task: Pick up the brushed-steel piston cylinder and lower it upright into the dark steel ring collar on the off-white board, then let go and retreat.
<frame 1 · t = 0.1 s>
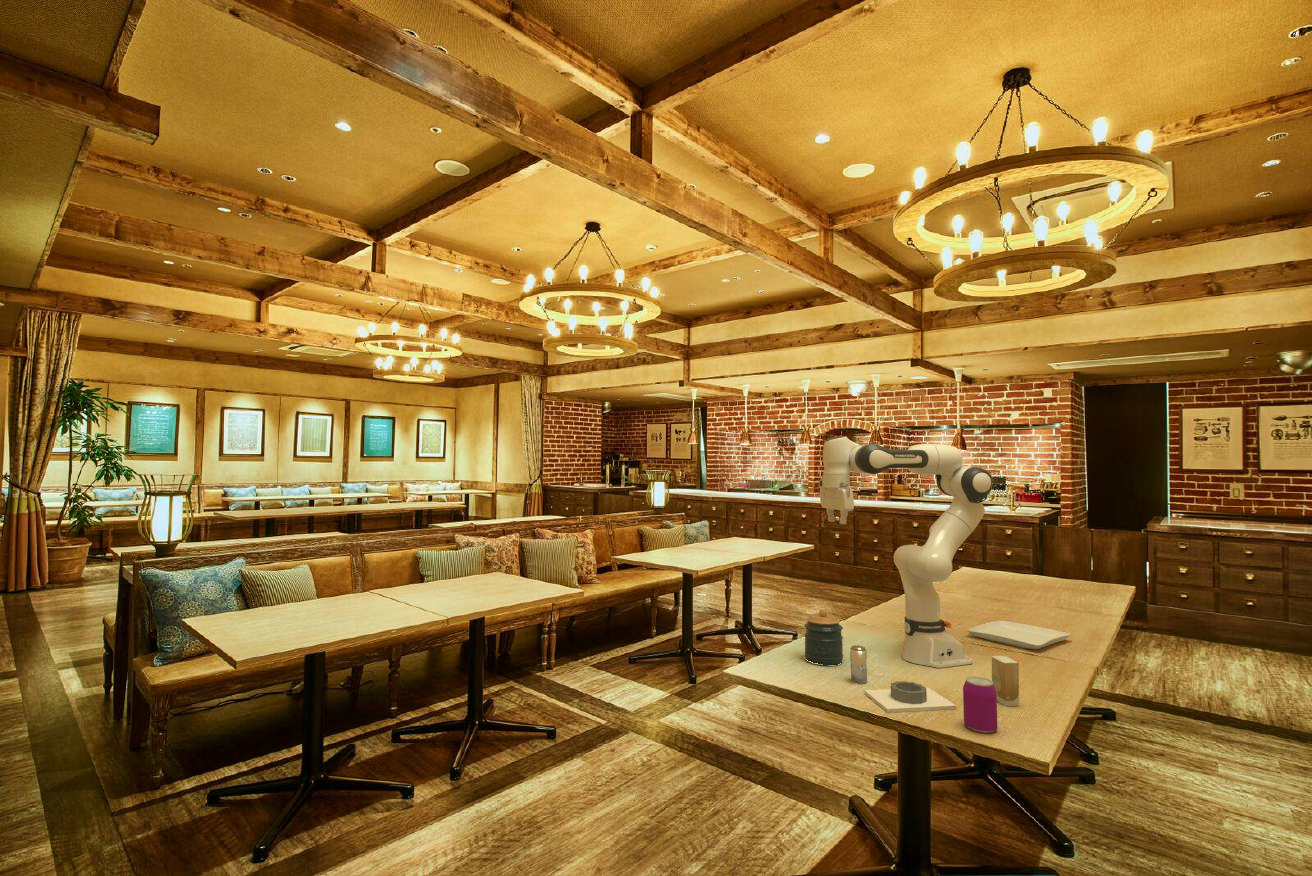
hand: (837, 522, 210), 48 cm above the table, fingers open, 8 cm apart
square plate: (1018, 641, 236), on the table
beverage can: (980, 728, 156), on the table
piston: (859, 681, 190), on the table
skincare box: (1005, 703, 173), on the table
canister: (823, 661, 211), on the table
ring block: (908, 701, 174), on the table
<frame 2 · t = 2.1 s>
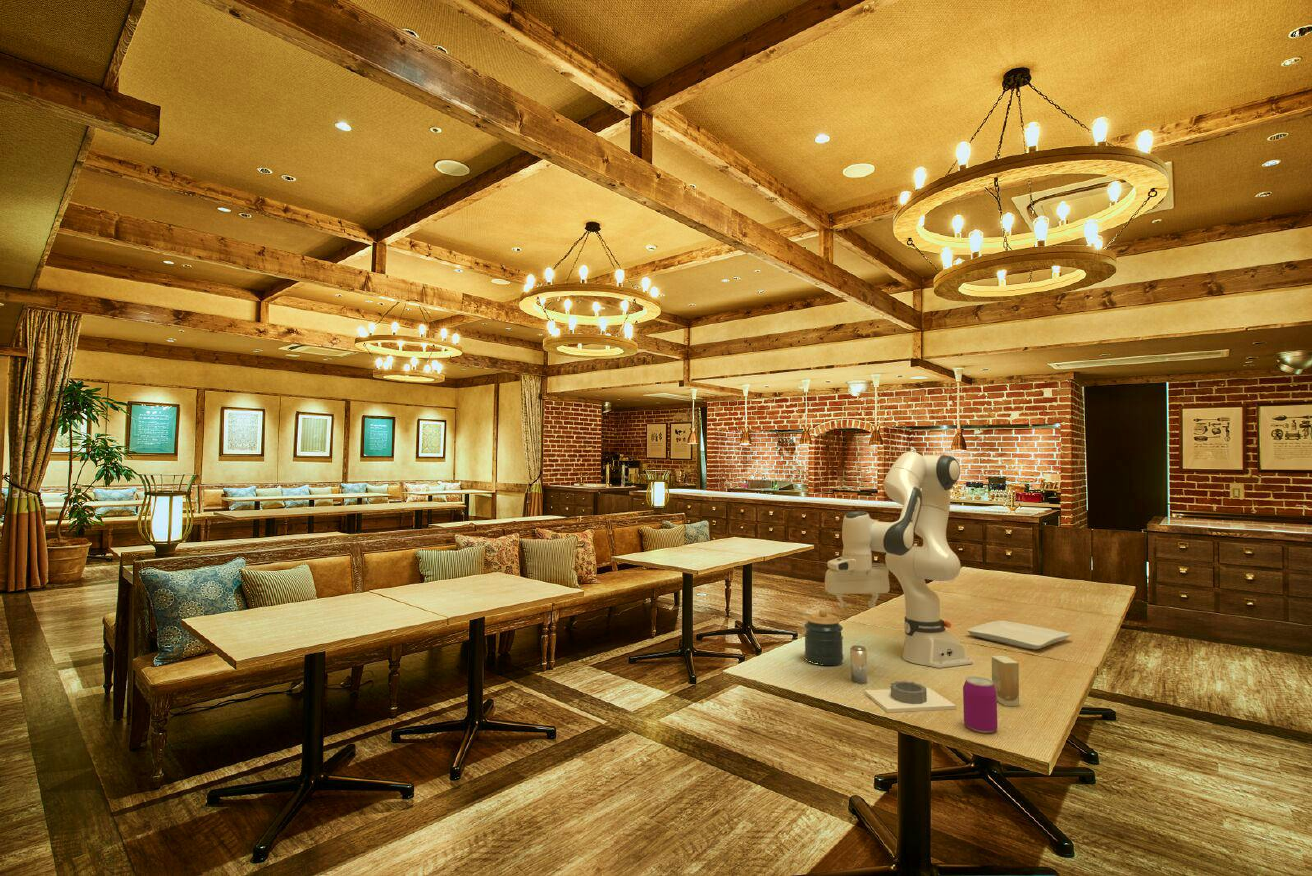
hand: (857, 607, 191), 23 cm above the table, fingers open, 8 cm apart
nothing on the table moved.
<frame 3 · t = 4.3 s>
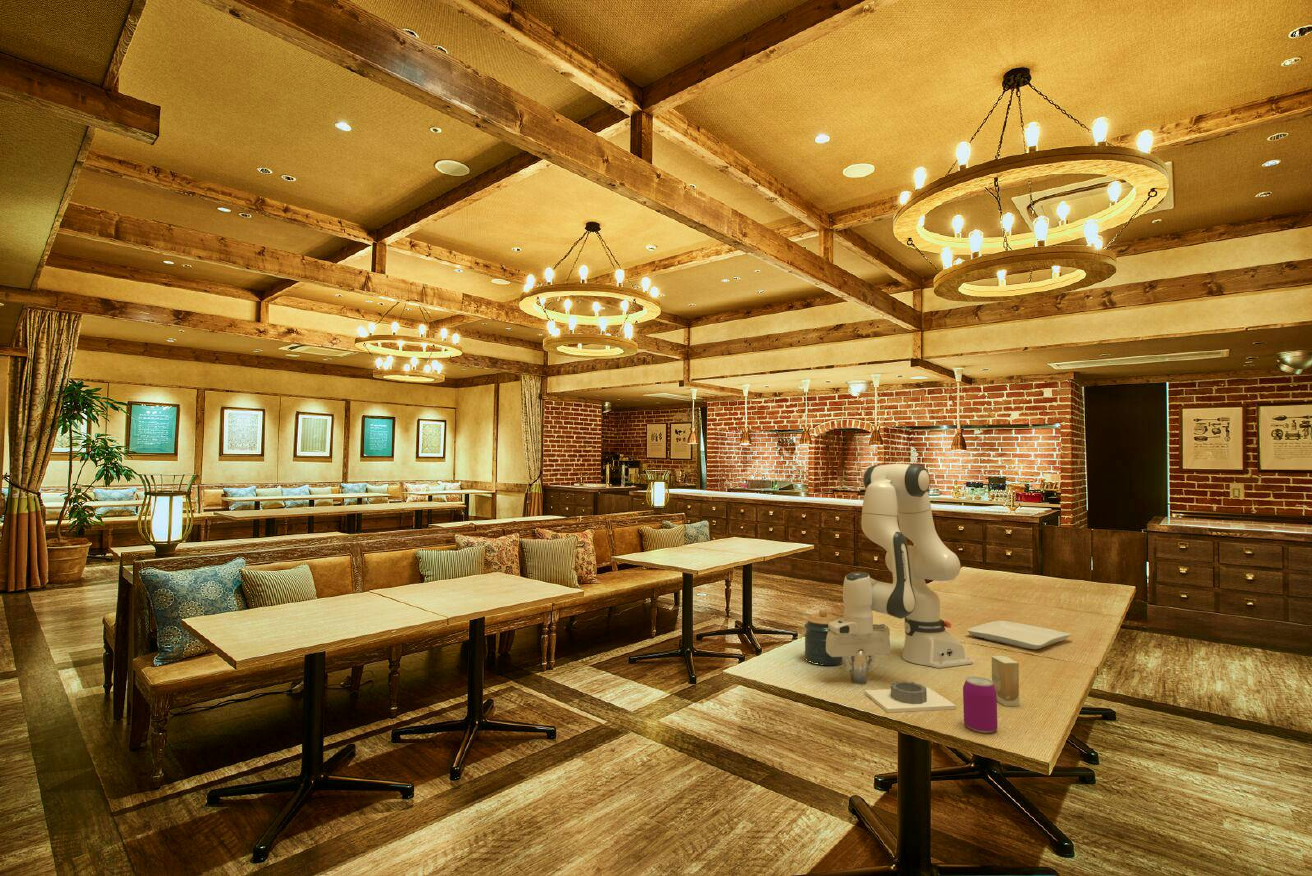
hand: (858, 669, 190), 4 cm above the table, fingers closed on piston, 5 cm apart
piston: (859, 681, 190), on the table, touching gripper
everything else where it was.
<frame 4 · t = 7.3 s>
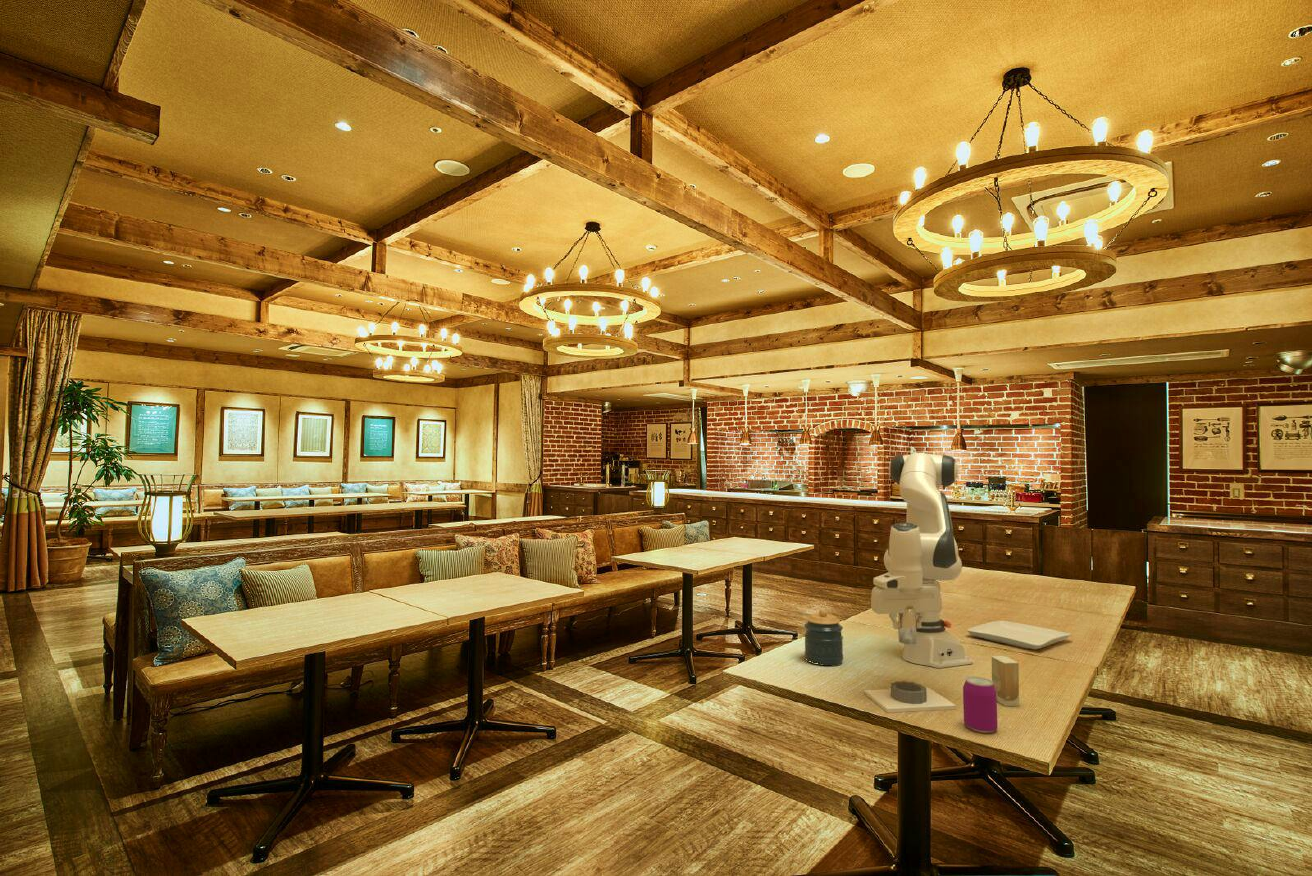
hand: (907, 628, 175), 21 cm above the table, fingers closed on piston, 5 cm apart
piston: (907, 642, 175), point 17 cm above the table, touching gripper
everything else where it was.
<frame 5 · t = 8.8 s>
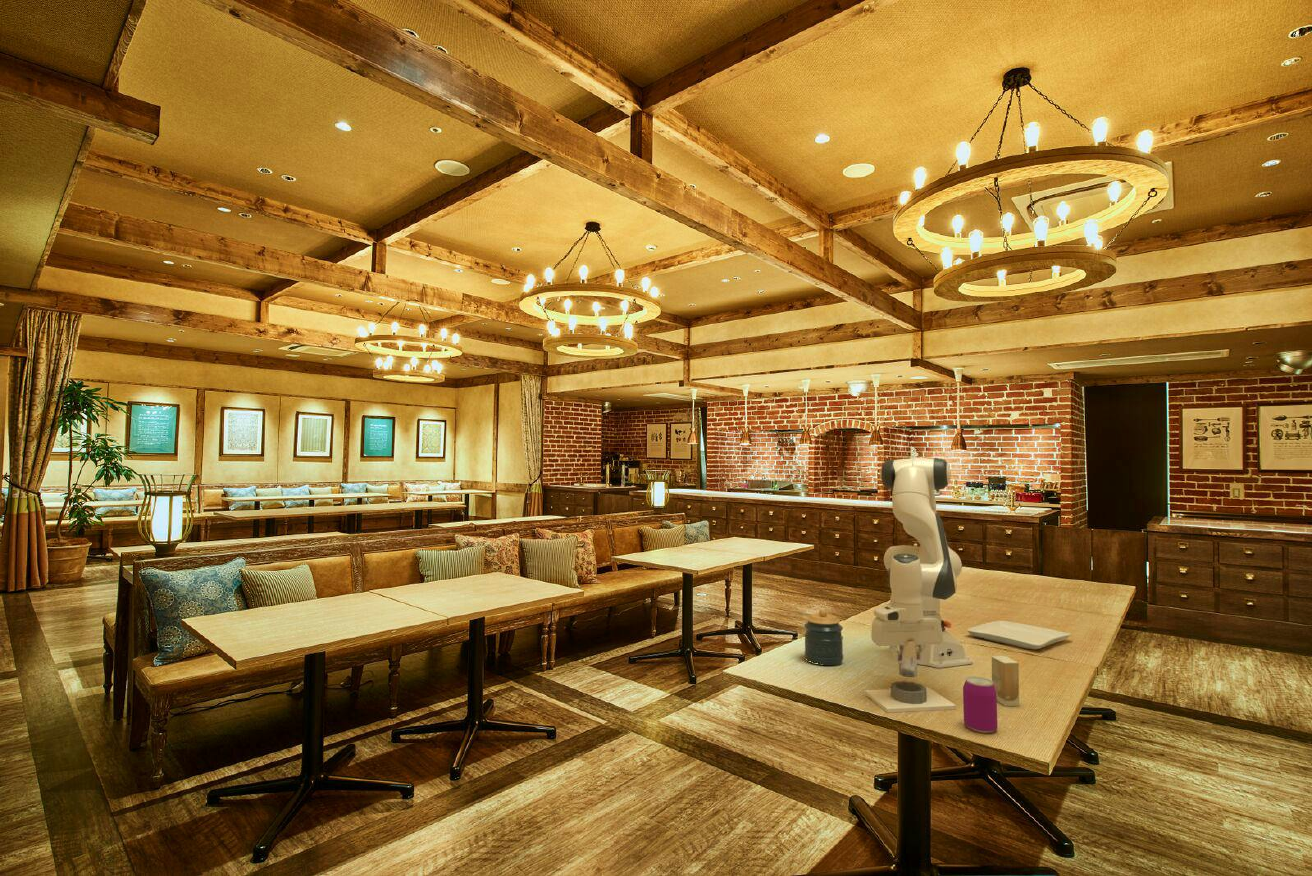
hand: (907, 660, 175), 12 cm above the table, fingers closed on piston, 5 cm apart
piston: (908, 674, 174), point 8 cm above the table, touching gripper
everything else where it was.
when the fingers open (6 cm above the table, at t = 10.3 s): piston stays where it is, resting on ring block.
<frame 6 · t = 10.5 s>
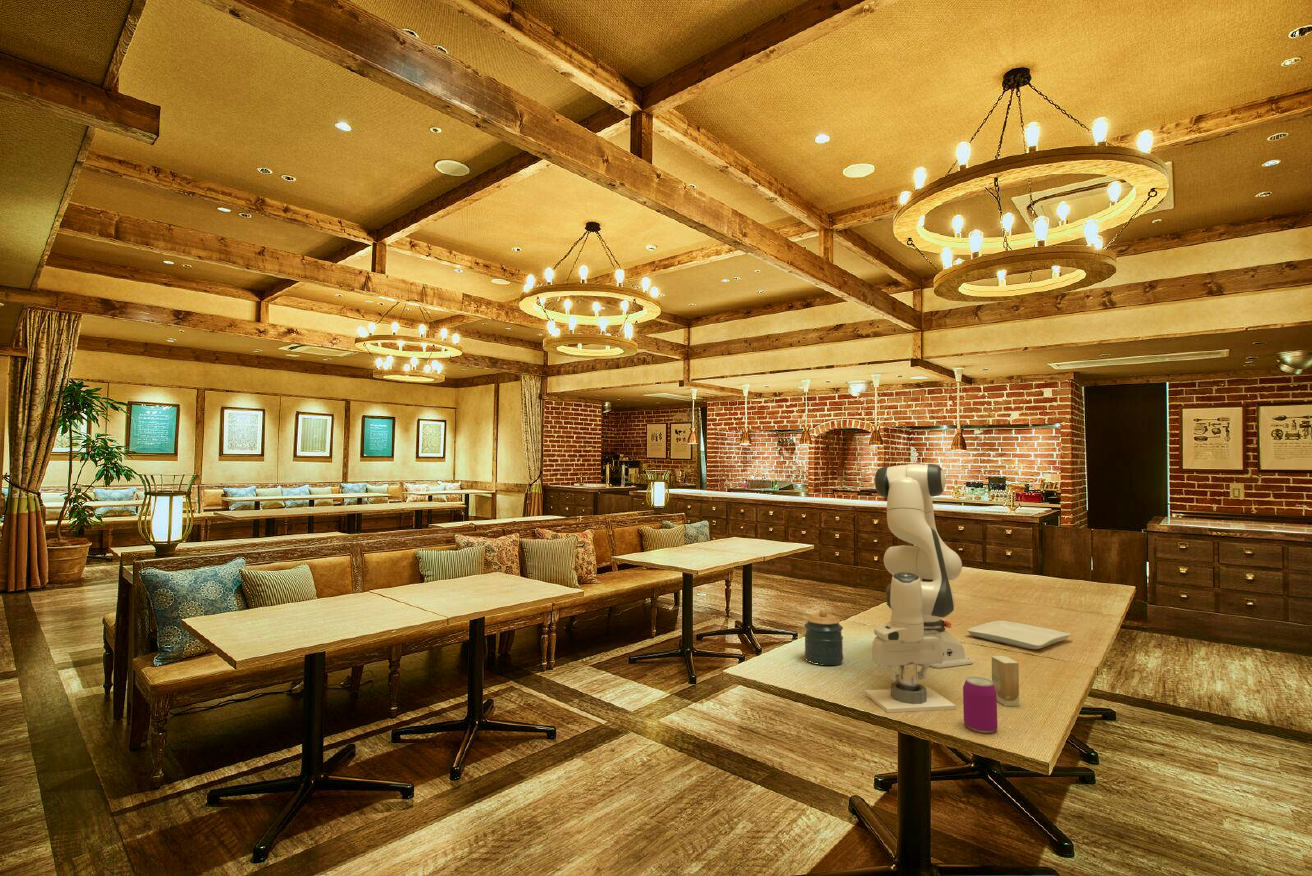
hand: (908, 679, 174), 6 cm above the table, fingers open, 7 cm apart
piston: (908, 697, 174), point 1 cm above the table, touching ring block
everything else where it was.
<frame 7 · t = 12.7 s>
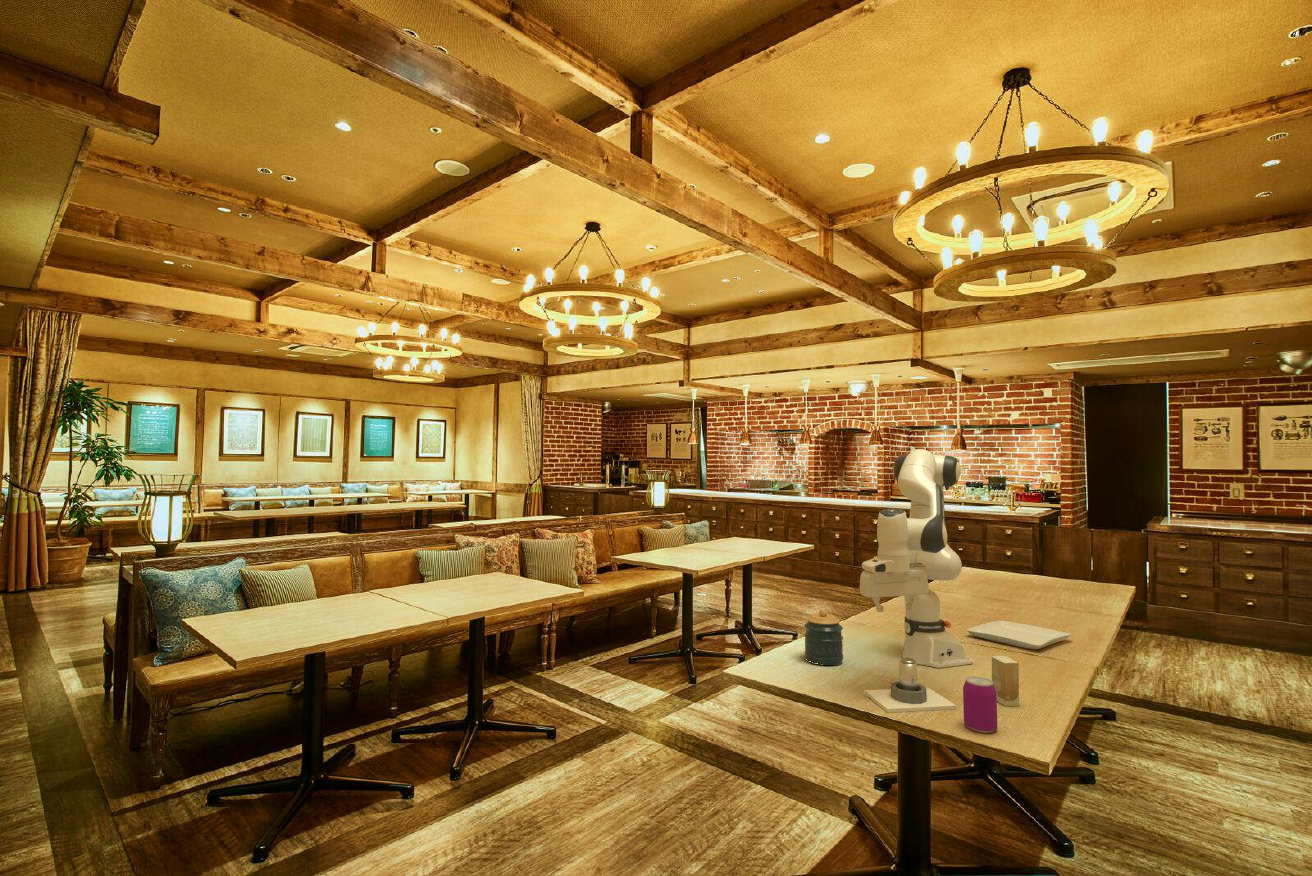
hand: (895, 610, 180), 25 cm above the table, fingers open, 8 cm apart
nothing on the table moved.
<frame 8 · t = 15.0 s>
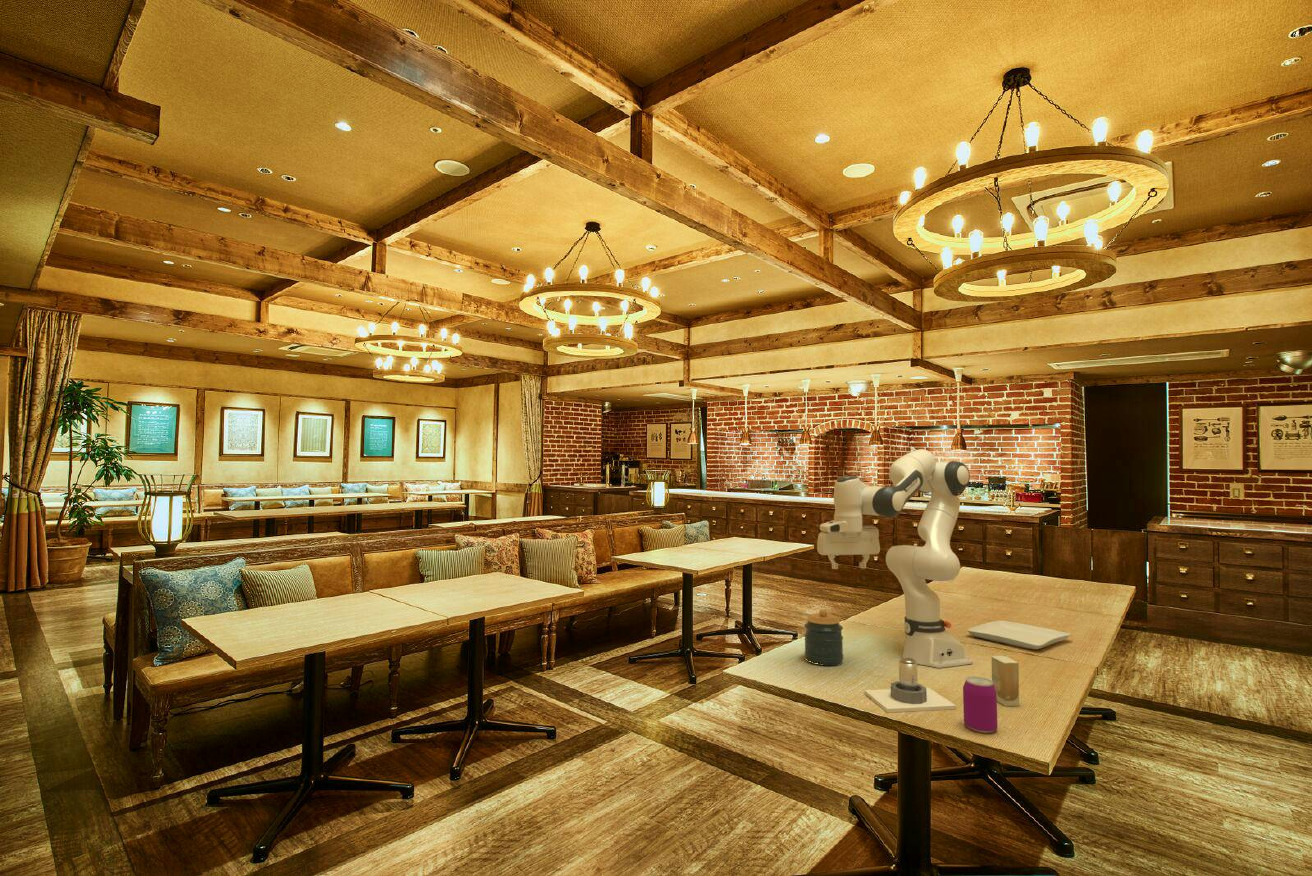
hand: (848, 568, 198), 34 cm above the table, fingers open, 8 cm apart
nothing on the table moved.
at the end: piston 0.1 cm off-centre on the ring block, point 1.0 cm above the ring block's base; piston tilted 0°; the gripper is holding nothing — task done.
